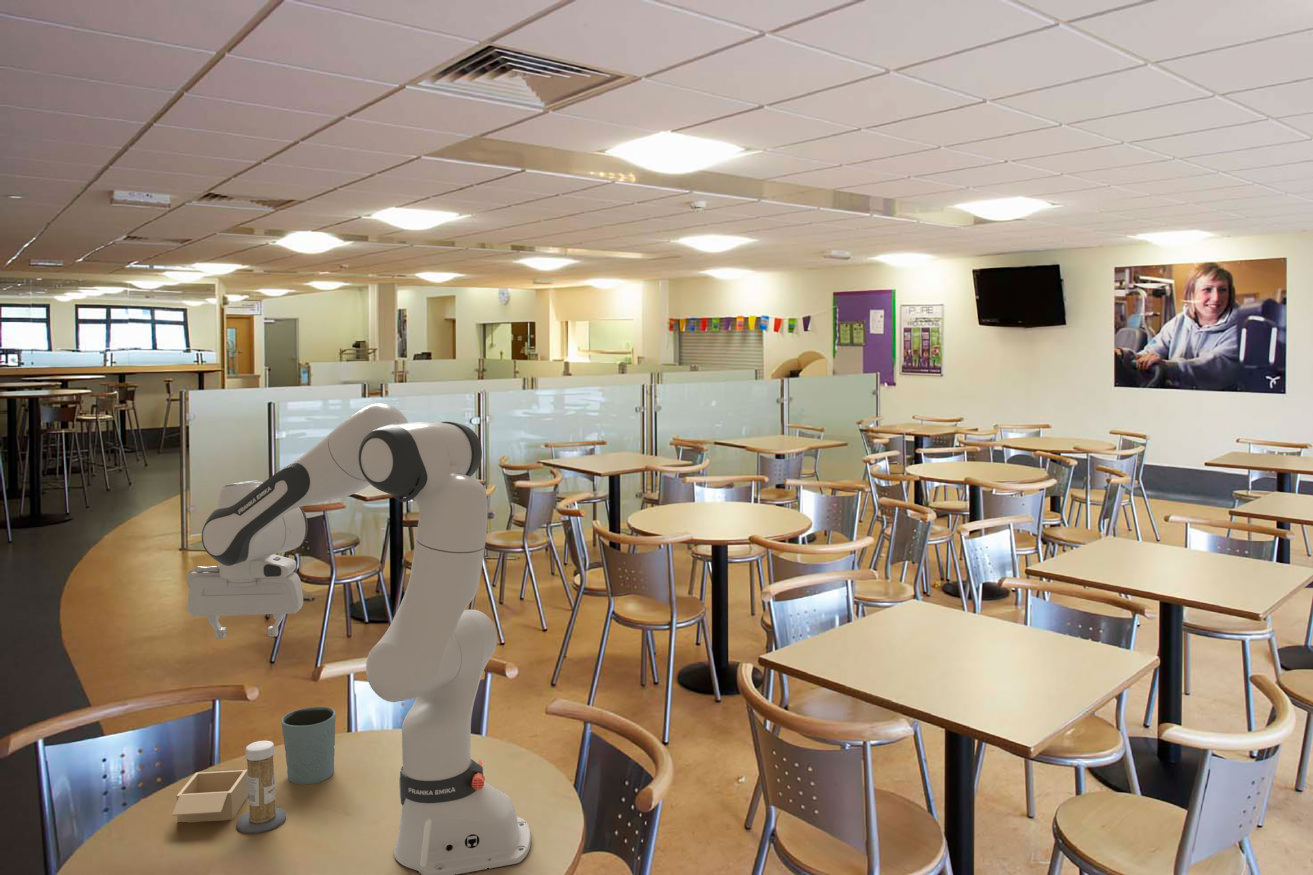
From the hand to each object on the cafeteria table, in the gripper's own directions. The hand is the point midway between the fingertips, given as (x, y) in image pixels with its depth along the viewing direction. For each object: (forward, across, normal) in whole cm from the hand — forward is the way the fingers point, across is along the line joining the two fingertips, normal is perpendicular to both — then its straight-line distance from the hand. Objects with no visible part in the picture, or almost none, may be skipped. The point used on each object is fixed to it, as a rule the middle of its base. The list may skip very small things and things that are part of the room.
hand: (247, 636), depth 169 cm
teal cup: (+29, +10, +3) cm, 31 cm away
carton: (+29, -4, -9) cm, 31 cm away
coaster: (+29, +6, -15) cm, 33 cm away
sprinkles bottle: (+29, +6, -15) cm, 33 cm away
